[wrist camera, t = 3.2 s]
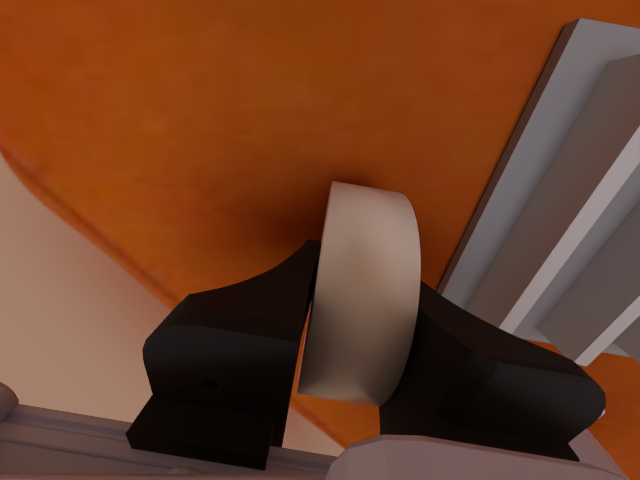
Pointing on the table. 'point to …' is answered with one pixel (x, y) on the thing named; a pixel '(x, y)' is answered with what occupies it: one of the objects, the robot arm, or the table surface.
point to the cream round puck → (362, 297)
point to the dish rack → (564, 206)
